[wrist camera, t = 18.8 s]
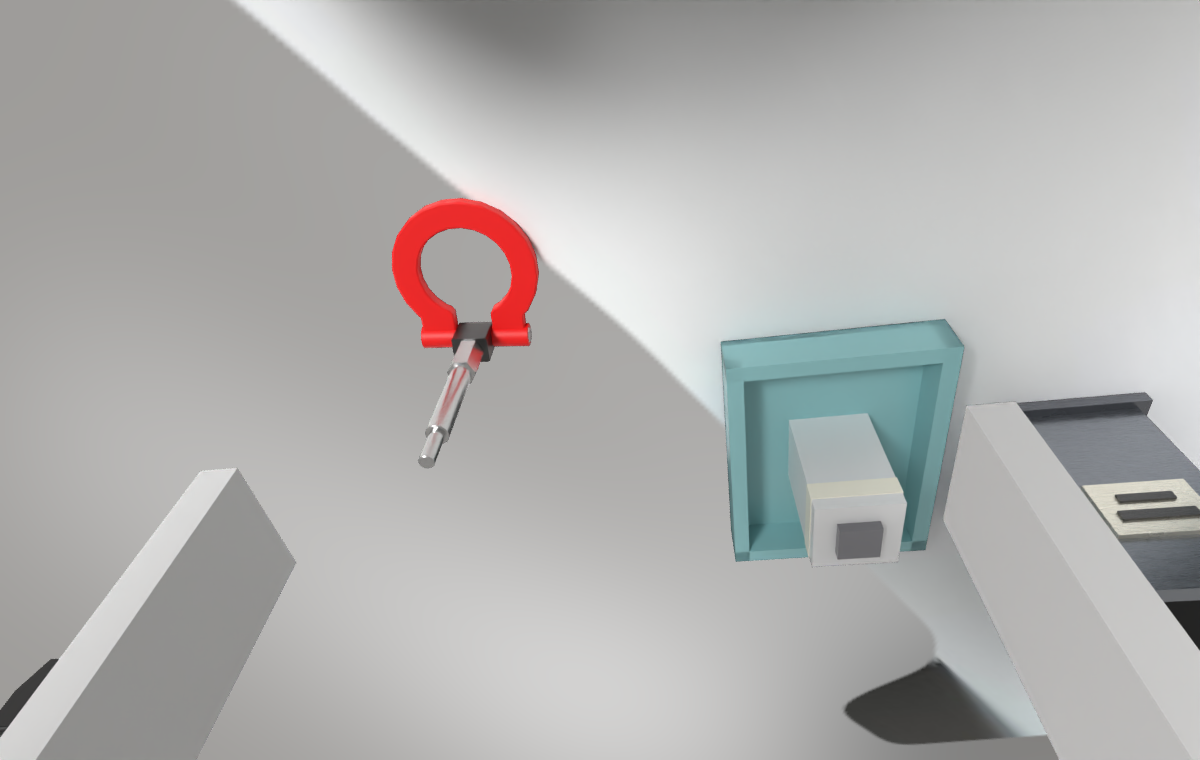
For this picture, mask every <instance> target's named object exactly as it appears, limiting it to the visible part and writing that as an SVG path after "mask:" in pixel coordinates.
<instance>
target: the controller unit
mask: <svg viewBox="0 0 1200 760" xmlns="http://www.w3.org/2000/svg"><path fill="white" fill-rule="evenodd" d="M1152 401H1153V400H1152V399H1151V398H1150V397H1149V396H1148V395H1147V394H1146V393H1133V394H1121V395H1110V396H1098V397H1086V398H1074V399H1063V400H1051V401H1039V402H1027V403H1017V404H1018V406H1019V407H1020V408H1021V410H1022V411H1023V412H1024V414H1025V415H1026V416H1027V418H1028V419H1029V420H1030V422H1031V423H1032V425H1033V426H1034V427H1035V429H1036V430H1037V431H1038V433H1039V434H1040V435H1041V437H1042V438H1043V439H1044V441H1045V442H1046V443H1047V445H1048V446H1049V448H1050V449H1051V450H1052V452H1053V453H1054V454H1055V456H1056V457H1057V458H1058V460H1059V461H1060V462H1061V464H1062V465H1063V466H1064V468H1065V469H1066V471H1067V472H1068V473H1069V475H1070V476H1071V477H1072V479H1073V480H1074V481H1075V483H1076V484H1077V485H1078V487H1079V488H1080V489H1081V491H1082V492H1083V493H1084V495H1085V496H1086V498H1087V499H1088V500H1089V502H1090V503H1091V504H1092V506H1093V507H1094V508H1095V510H1096V511H1097V512H1098V514H1099V515H1100V516H1101V518H1102V519H1103V521H1104V522H1105V523H1106V525H1107V526H1108V527H1109V529H1110V530H1111V531H1112V533H1113V534H1114V535H1115V537H1116V538H1117V539H1118V541H1119V542H1120V544H1121V545H1122V546H1123V548H1124V549H1125V550H1126V552H1127V553H1128V554H1129V556H1130V557H1131V558H1132V560H1133V561H1134V562H1135V564H1136V565H1137V567H1138V568H1139V569H1140V571H1141V572H1142V573H1143V575H1144V576H1145V577H1146V579H1147V580H1148V581H1149V583H1150V584H1151V585H1152V587H1153V588H1154V590H1155V591H1156V592H1157V594H1158V595H1159V596H1160V598H1161V599H1162V600H1163V602H1174V601H1194V600H1200V471H1199V470H1198V469H1197V467H1196V466H1195V465H1194V464H1193V463H1192V462H1191V461H1190V460H1189V459H1188V458H1187V457H1186V456H1185V455H1184V454H1183V453H1182V452H1181V451H1180V450H1179V449H1178V448H1177V447H1176V446H1175V445H1174V444H1173V443H1172V442H1171V441H1170V440H1169V439H1168V438H1167V436H1166V435H1165V434H1164V433H1163V432H1162V431H1161V430H1160V429H1159V428H1158V427H1157V426H1156V425H1155V424H1154V423H1153V422H1152V421H1151V420H1150V419H1149V418H1148V417H1147V414H1148V411H1149V409H1150V406H1151V404H1152Z"/></svg>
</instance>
